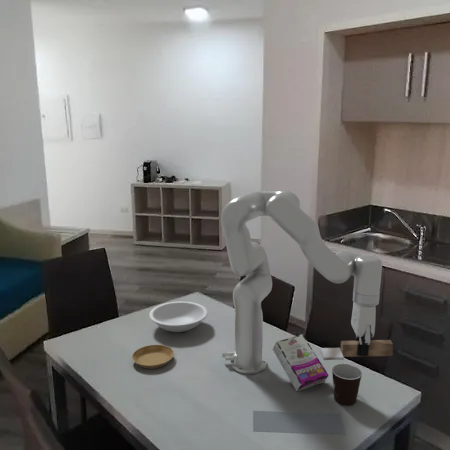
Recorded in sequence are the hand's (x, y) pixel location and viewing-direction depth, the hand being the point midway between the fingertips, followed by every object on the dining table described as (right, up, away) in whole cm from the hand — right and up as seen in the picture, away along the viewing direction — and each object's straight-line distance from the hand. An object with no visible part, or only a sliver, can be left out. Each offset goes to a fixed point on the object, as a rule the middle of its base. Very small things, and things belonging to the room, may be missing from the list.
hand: (361, 352), depth 138 cm
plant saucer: (-68, -10, +23) cm, 72 cm away
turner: (-2, -1, 0) cm, 2 cm away
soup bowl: (-61, -3, +49) cm, 78 cm away
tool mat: (-21, -17, -11) cm, 30 cm away
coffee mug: (-5, -14, 0) cm, 15 cm away
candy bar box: (-14, -11, +4) cm, 19 cm away
